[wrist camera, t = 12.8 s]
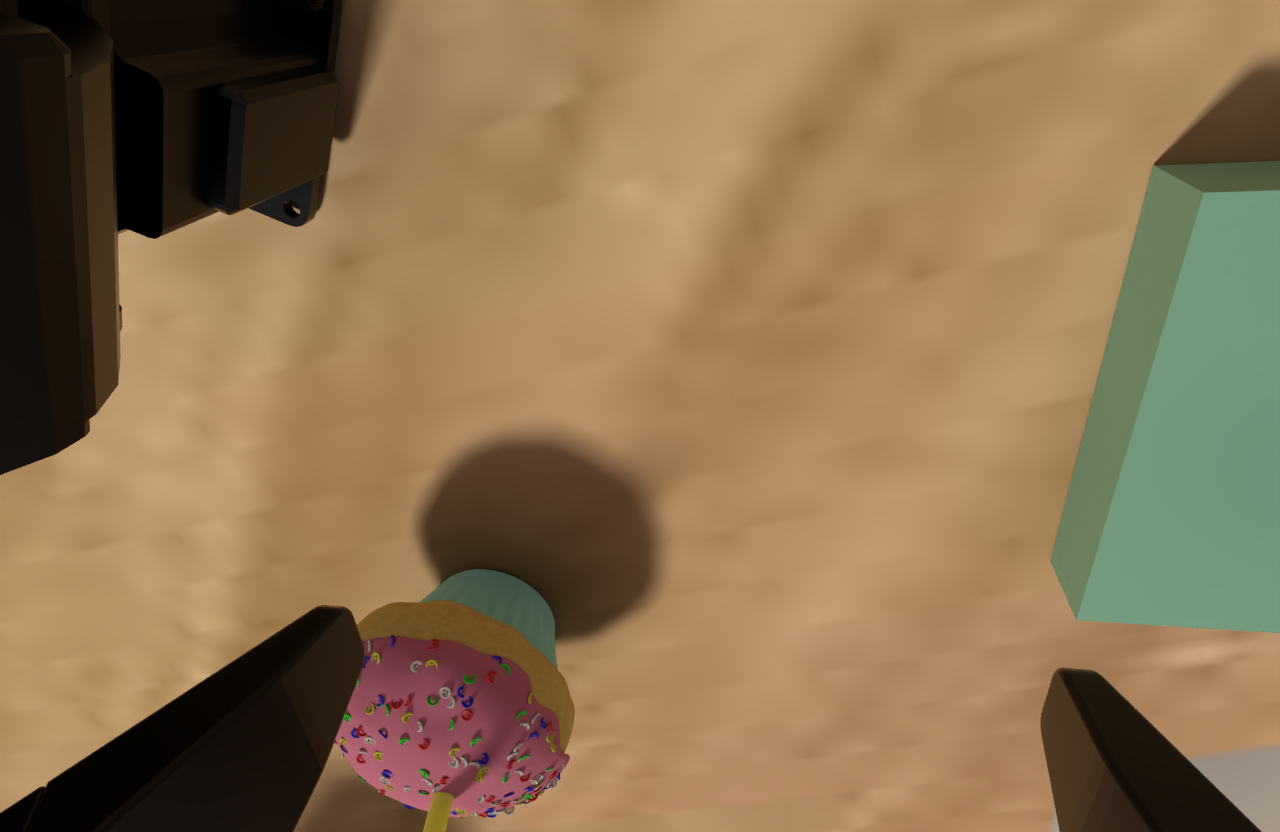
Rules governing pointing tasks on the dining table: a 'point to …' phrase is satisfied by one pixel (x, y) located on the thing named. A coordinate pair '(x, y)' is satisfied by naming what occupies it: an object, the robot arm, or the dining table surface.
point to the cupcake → (460, 700)
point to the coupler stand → (1186, 416)
